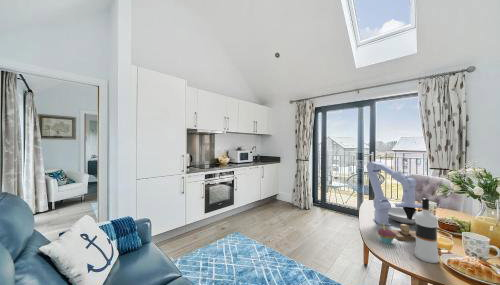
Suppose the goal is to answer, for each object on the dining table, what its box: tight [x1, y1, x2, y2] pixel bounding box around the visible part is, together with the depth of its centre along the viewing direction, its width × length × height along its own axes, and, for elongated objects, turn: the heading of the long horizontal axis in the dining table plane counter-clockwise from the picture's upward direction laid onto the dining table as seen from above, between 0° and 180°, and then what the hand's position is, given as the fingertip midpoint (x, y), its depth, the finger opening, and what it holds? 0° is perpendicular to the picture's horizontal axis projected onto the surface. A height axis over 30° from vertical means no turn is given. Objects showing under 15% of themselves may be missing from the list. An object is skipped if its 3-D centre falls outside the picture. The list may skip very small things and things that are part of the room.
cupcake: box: [377, 222, 396, 245], centre depth 113 cm, size 9×8×12 cm
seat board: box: [390, 229, 416, 242], centre depth 118 cm, size 9×18×2 cm, turn 81°
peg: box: [400, 223, 411, 236], centre depth 119 cm, size 4×4×7 cm
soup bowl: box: [388, 206, 419, 225], centre depth 142 cm, size 24×24×7 cm
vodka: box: [413, 197, 440, 264], centre depth 97 cm, size 9×9×30 cm
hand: (409, 219), depth 121 cm, fingers closed
